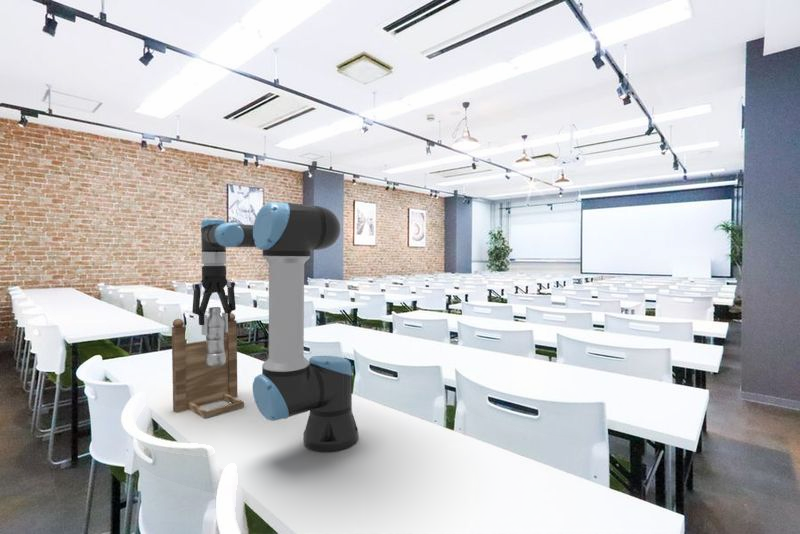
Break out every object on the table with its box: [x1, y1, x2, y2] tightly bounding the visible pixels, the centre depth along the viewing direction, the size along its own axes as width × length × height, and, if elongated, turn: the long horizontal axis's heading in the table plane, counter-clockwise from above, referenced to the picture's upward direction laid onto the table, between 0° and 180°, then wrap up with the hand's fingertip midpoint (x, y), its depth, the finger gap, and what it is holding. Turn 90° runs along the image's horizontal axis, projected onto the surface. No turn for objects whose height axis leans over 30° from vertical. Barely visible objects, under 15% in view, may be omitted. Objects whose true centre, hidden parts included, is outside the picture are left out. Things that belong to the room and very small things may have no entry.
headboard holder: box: [171, 312, 245, 419], centre depth 140 cm, size 15×21×31 cm
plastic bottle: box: [205, 306, 226, 367], centre depth 140 cm, size 6×7×20 cm
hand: (215, 333), depth 140 cm, fingers closed on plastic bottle, 6 cm apart
